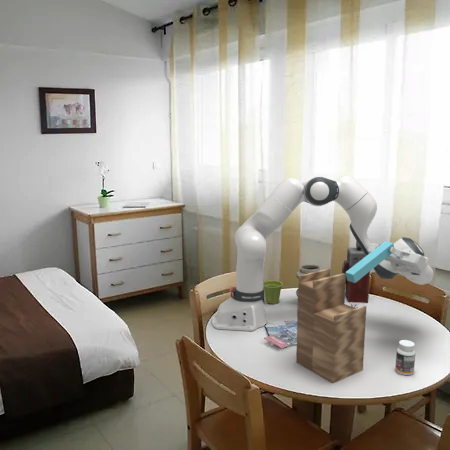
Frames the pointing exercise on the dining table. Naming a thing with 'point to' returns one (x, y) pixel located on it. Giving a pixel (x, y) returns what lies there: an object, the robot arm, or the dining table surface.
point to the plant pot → (272, 291)
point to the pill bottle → (405, 357)
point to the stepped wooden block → (328, 327)
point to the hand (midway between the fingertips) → (384, 247)
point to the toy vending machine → (361, 288)
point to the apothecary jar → (307, 271)
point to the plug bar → (369, 262)
